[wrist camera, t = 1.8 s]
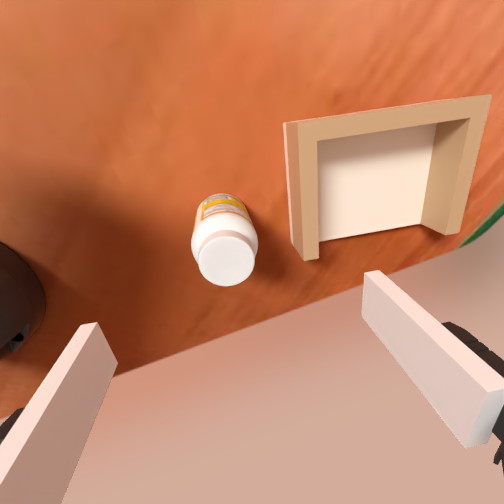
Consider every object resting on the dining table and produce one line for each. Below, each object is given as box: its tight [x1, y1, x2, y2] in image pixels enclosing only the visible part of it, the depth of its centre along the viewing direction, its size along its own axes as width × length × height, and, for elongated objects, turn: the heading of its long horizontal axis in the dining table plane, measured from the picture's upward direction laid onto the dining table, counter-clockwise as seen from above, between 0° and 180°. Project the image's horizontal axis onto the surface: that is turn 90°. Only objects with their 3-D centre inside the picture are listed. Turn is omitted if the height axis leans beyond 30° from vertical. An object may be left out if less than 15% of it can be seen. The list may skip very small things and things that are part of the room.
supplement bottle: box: [191, 194, 258, 286], centre depth 23 cm, size 5×5×10 cm
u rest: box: [283, 94, 492, 261], centre depth 25 cm, size 16×12×4 cm
